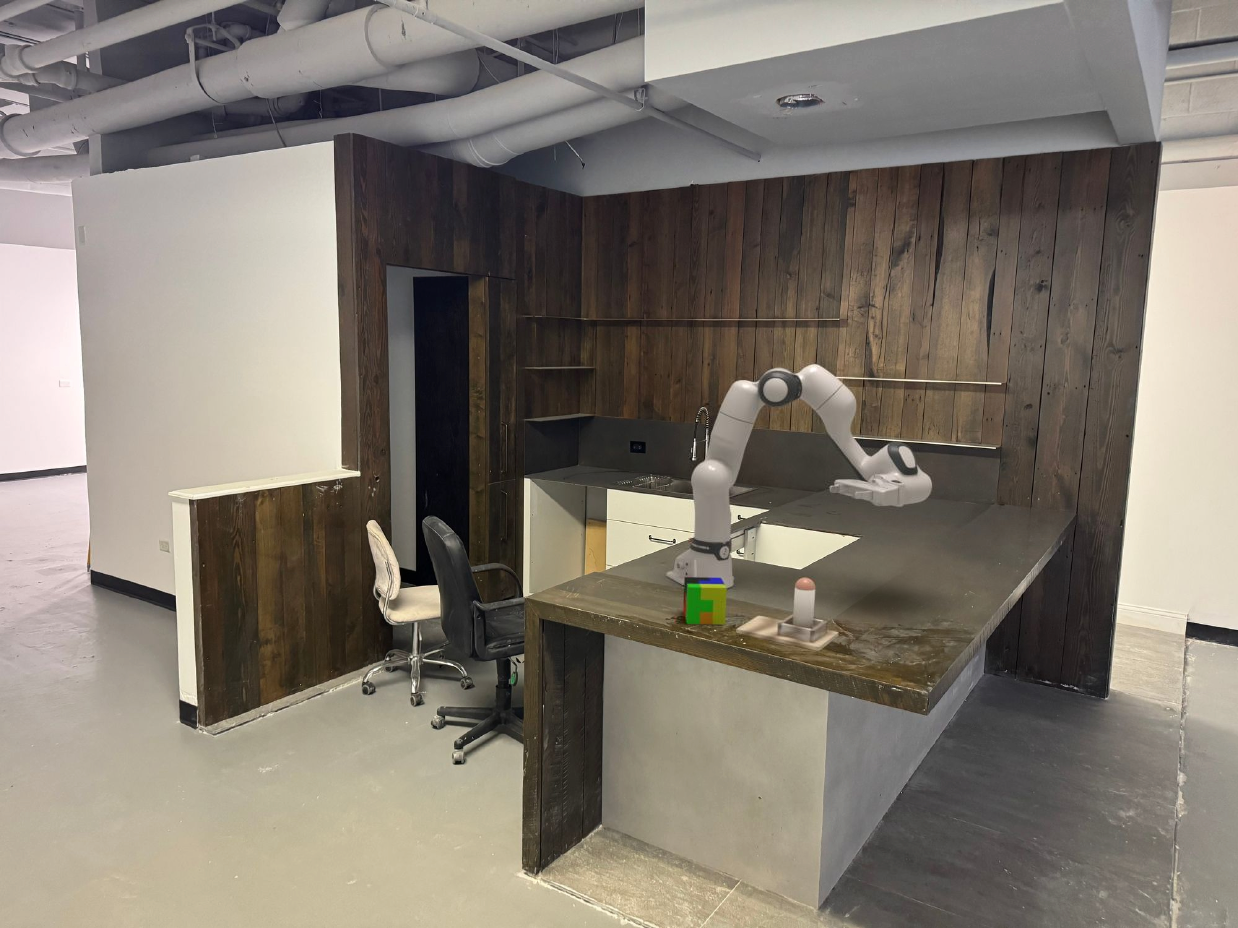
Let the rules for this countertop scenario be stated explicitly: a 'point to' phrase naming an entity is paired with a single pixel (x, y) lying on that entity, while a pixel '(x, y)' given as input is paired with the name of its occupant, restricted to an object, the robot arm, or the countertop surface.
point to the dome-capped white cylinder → (804, 603)
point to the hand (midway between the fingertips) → (842, 492)
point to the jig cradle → (789, 632)
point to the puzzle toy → (704, 600)
